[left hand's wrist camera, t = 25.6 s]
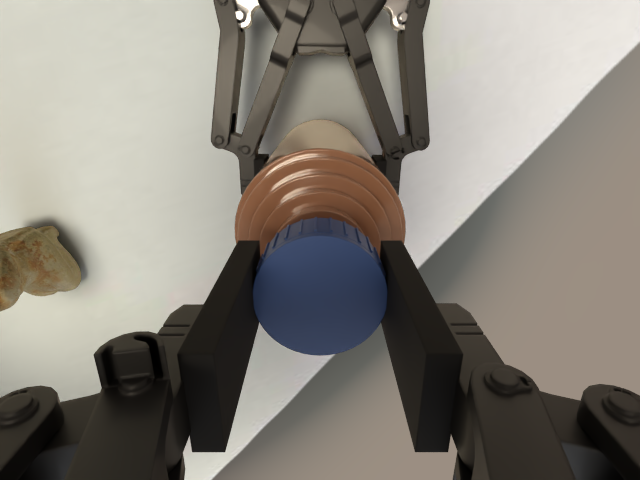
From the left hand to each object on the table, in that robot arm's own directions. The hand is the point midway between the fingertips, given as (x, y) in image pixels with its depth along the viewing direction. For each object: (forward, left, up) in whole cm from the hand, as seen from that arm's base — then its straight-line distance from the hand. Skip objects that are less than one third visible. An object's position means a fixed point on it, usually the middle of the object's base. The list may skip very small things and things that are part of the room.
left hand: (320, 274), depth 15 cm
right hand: (-4, -3, -16) cm, 17 cm away
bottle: (0, 0, -23) cm, 23 cm away
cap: (0, 0, +2) cm, 2 cm away
